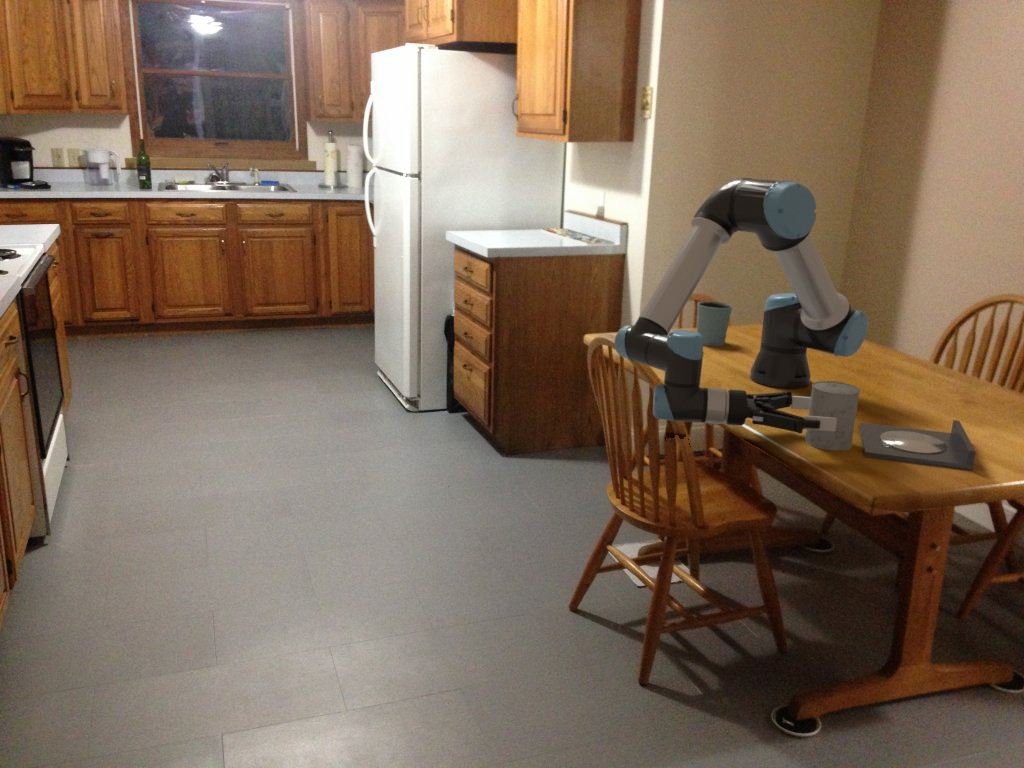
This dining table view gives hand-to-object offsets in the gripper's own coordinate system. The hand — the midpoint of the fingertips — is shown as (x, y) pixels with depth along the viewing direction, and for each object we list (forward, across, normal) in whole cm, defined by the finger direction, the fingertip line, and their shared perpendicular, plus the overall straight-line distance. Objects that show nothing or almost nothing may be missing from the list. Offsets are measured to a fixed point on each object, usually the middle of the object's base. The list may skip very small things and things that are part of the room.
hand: (829, 414), depth 187 cm
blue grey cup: (-17, -86, -7) cm, 88 cm away
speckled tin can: (+1, 0, -7) cm, 7 cm away
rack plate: (+18, -2, -6) cm, 19 cm away
